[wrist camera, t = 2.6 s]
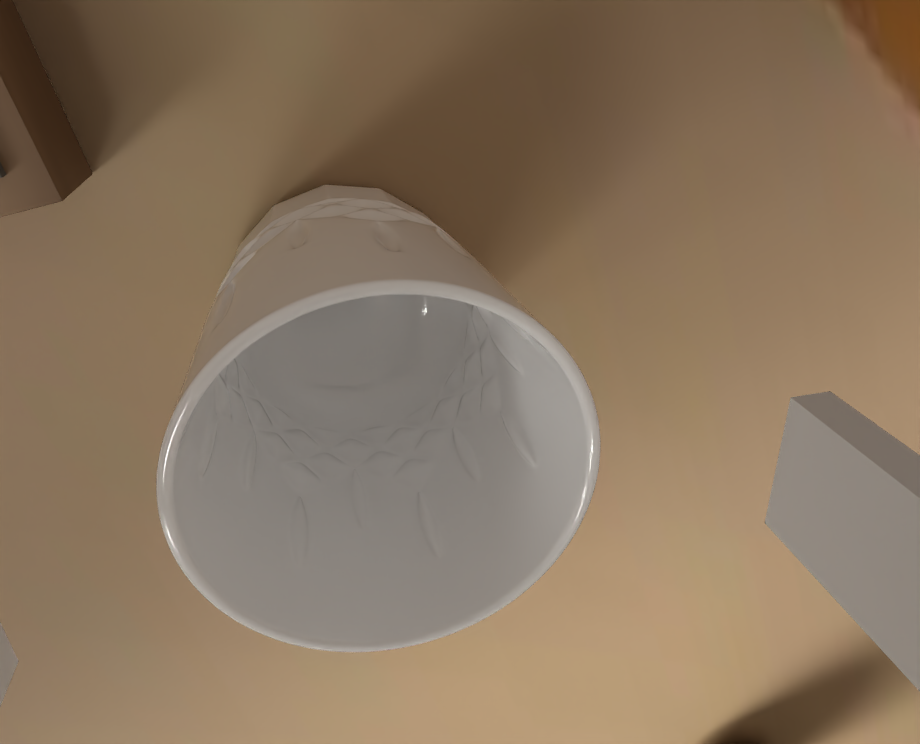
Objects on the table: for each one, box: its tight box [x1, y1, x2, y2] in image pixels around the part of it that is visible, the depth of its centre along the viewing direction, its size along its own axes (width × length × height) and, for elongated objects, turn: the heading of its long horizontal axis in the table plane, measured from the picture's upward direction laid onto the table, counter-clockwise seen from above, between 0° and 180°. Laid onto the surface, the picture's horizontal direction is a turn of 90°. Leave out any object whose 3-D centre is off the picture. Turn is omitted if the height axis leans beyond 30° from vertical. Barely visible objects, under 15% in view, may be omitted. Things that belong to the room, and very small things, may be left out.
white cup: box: [156, 185, 600, 652], centre depth 17 cm, size 8×8×10 cm
